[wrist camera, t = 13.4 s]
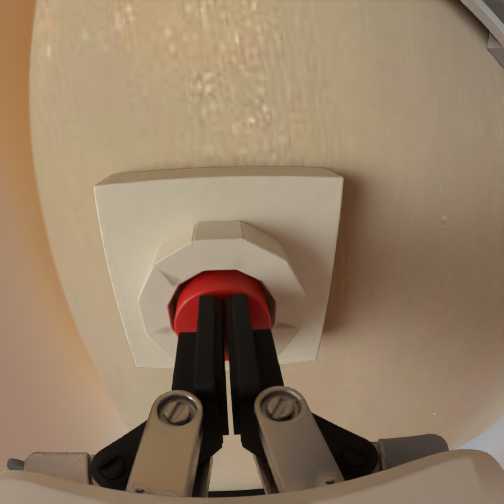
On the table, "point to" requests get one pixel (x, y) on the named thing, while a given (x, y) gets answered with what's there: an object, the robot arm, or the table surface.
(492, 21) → the alarm clock
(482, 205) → the table surface
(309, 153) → the table surface
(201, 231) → the switch box
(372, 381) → the table surface
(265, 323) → the power button
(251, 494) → the panel
